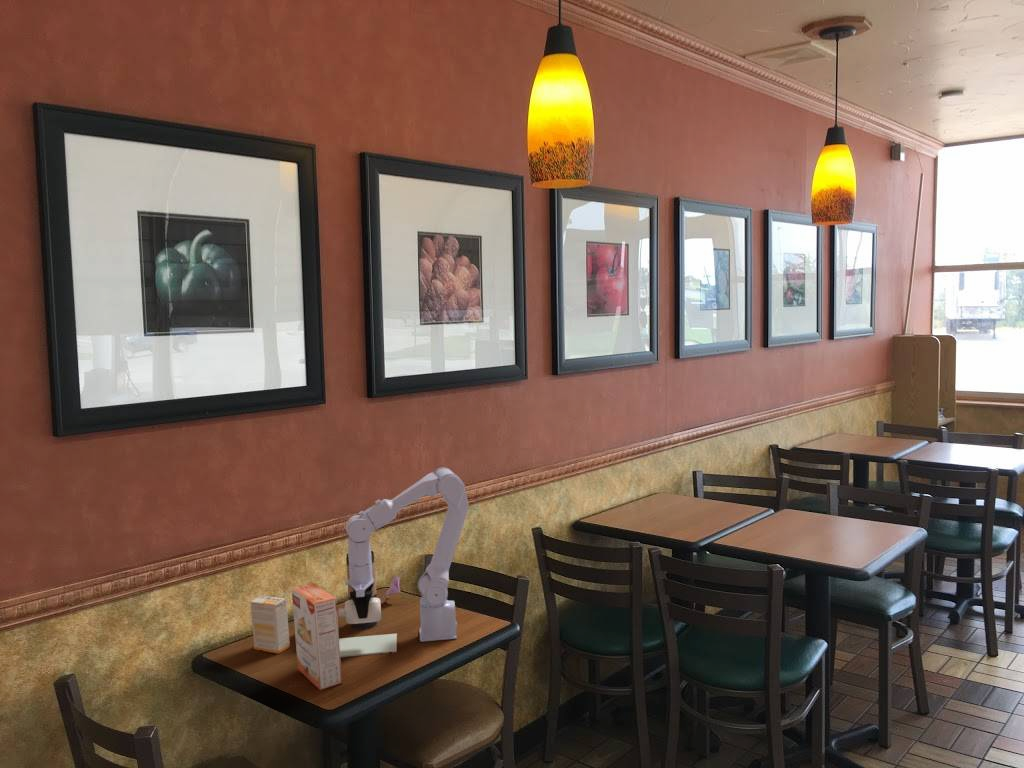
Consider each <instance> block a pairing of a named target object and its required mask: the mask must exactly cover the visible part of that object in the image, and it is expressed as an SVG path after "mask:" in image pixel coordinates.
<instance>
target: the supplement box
mask: <svg viewBox="0 0 1024 768" xmlns="http://www.w3.org/2000/svg"><path fill="white" fill-rule="evenodd" d="M249 603H250V611H251V612H250V613H251V625H252V636H253V637H252V639H253V649H254V650H255V649H257V650H256V651H260V650H263V651H262V652H266V651H267V652H268V653H272V654H273V653H274V654H277V655H278V654H280V653H282V652H284V651H286V650H287V649H289V648H290V647H291V642H290V634H289V633H290V632H289V631H290V630H289V620H288V619H289V618H288V608H287V607H288V605H287V604H288V603H287V598H282V597H276V596H268V595H260V596H258V597H256V598H254V599H253V600H250V602H249Z"/></svg>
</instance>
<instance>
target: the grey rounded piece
mask: <svg viewBox="0 0 1024 768" xmlns="http://www.w3.org/2000/svg"><path fill="white" fill-rule="evenodd" d="M380 600H381V598H379V597H377V598H370V601H369V608H368V616H367V618H363V619H359V617H358V614H357V611H356V607H355V604H354V602H353V600H352V599H351V600H349V599H347V600H346V601H344V608H338V611H337V615H338V617H345V623H346V624H349V625H351V624H358V623H369V622H377V623H378V622H380V621H381V620H382V607H381V605H382V604H381V602H380Z"/></svg>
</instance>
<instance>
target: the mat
mask: <svg viewBox="0 0 1024 768" xmlns="http://www.w3.org/2000/svg"><path fill="white" fill-rule="evenodd" d="M397 638H398V633H397V632H396V633H389V634H388V633H387V634H376V635H375V634H373V635H366V636H365V635H363V636H354V637H344V638H340V637H339V646H340V658H347V657H349V658H350V657H357V656H358V657H359V656H370V655H381V653H382V654H390V653H389V652H392V653H397V646H398V645H397V644H398V643H397V641H398V639H397Z"/></svg>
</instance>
